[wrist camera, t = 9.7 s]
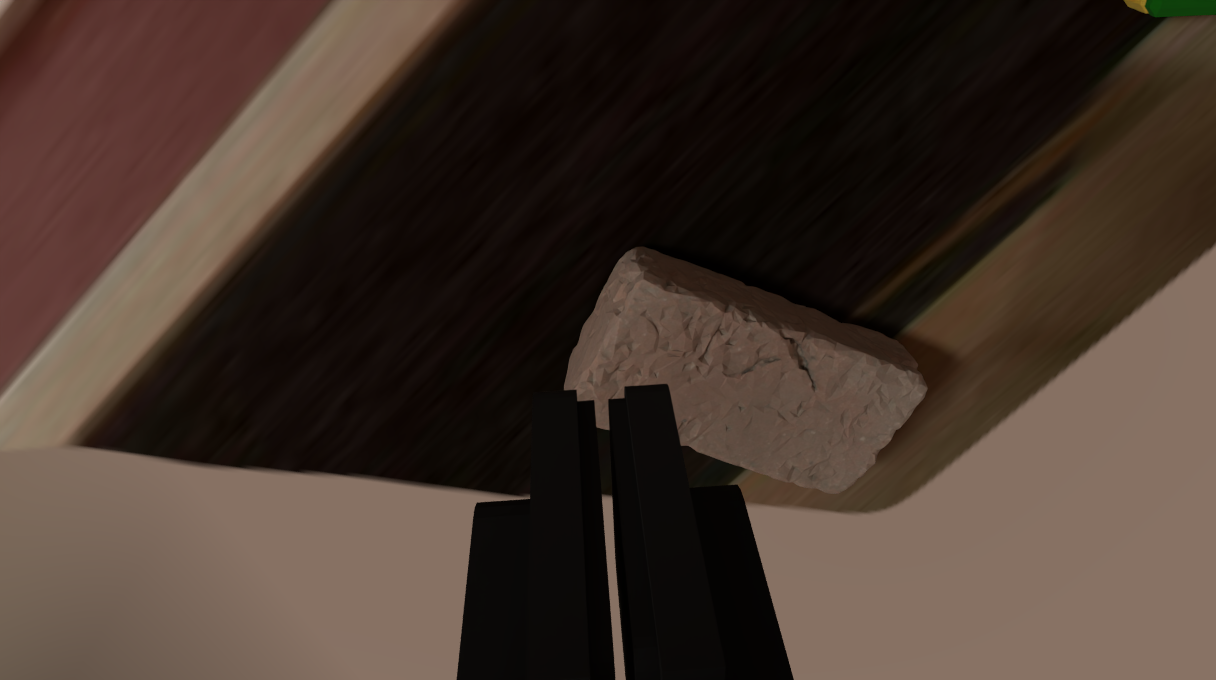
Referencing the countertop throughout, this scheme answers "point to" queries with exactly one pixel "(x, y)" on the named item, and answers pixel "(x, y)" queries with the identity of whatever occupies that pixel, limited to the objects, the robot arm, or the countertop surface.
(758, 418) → the brick
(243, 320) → the countertop surface
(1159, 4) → the dish sponge
